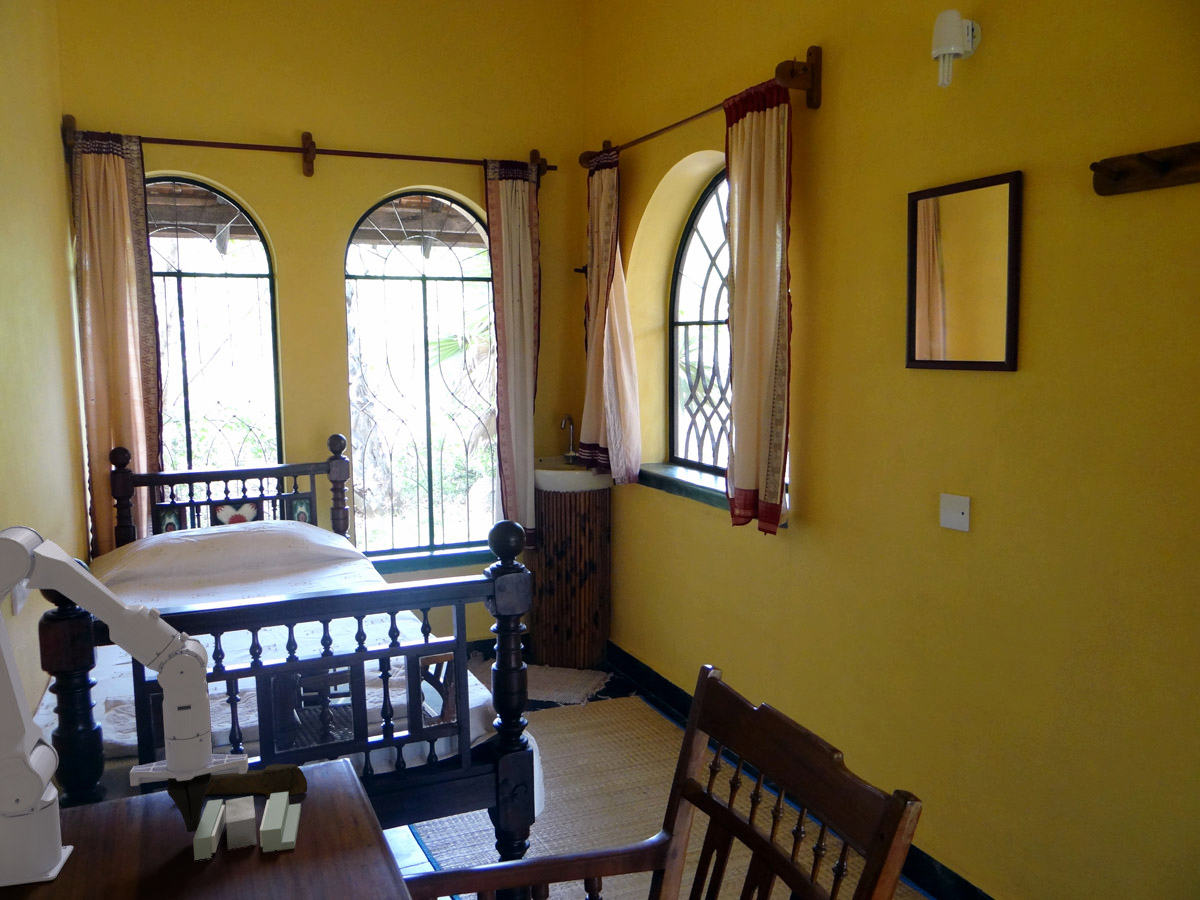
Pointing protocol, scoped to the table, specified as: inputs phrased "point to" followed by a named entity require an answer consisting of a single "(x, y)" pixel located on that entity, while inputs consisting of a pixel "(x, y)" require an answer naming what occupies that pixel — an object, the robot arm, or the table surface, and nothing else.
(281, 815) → the pale green bar
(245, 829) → the block
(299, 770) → the brown wooden log
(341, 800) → the table surface
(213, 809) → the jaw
